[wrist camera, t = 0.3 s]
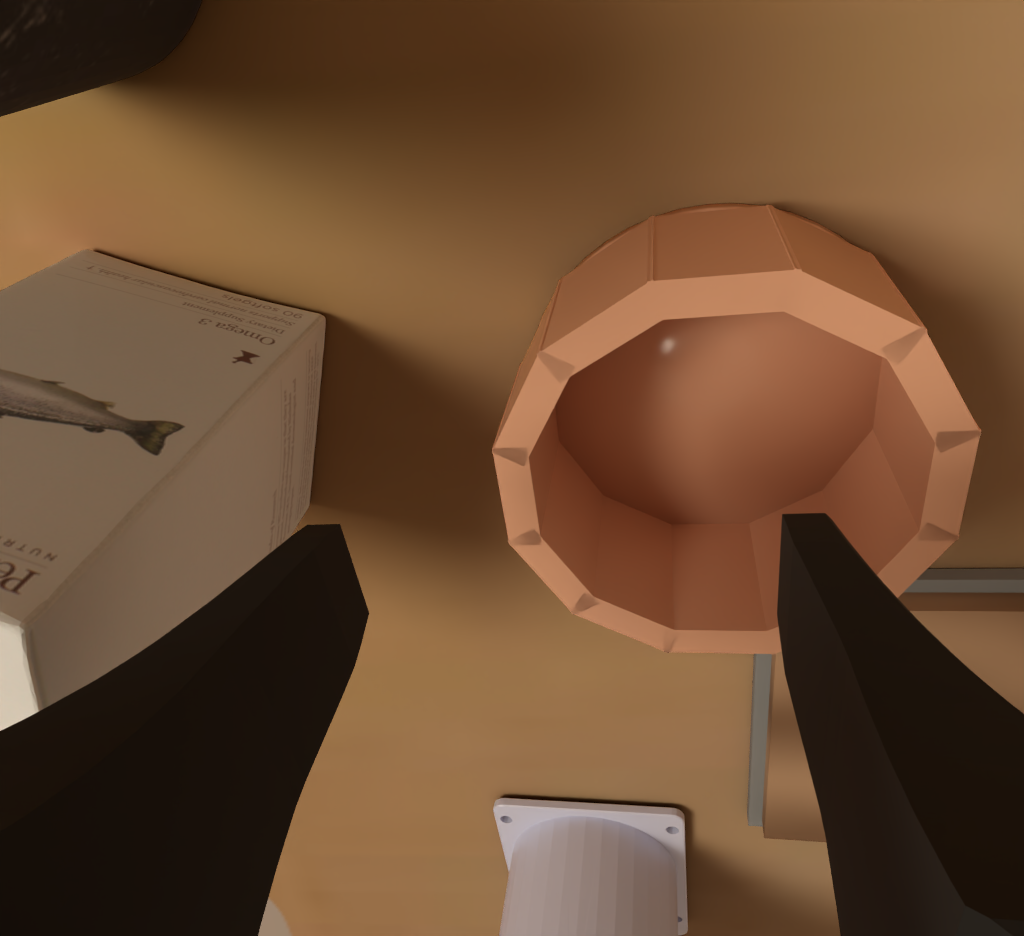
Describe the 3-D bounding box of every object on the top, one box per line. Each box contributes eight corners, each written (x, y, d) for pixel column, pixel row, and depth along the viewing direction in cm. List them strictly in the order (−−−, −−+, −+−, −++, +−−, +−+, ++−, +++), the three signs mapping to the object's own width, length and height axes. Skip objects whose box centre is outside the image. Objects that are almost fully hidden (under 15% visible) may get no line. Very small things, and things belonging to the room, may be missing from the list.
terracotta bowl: (883, 531, 23) (933, 657, 19) (548, 535, 25) (526, 650, 21) (936, 180, 17) (1022, 249, 13) (504, 223, 20) (463, 294, 15)
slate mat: (1111, 835, 29) (1117, 848, 28) (747, 814, 31) (748, 825, 31) (1239, 567, 22) (1250, 579, 21) (757, 569, 24) (759, 579, 24)
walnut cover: (1106, 839, 28) (1162, 950, 25) (762, 818, 30) (774, 917, 27) (1223, 592, 22) (1318, 700, 18) (775, 592, 24) (793, 687, 21)
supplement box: (334, 308, 22) (38, 635, 11) (313, 508, 26) (83, 880, 15) (81, 236, 22) (-450, 497, 11) (101, 448, 26) (-271, 780, 15)
